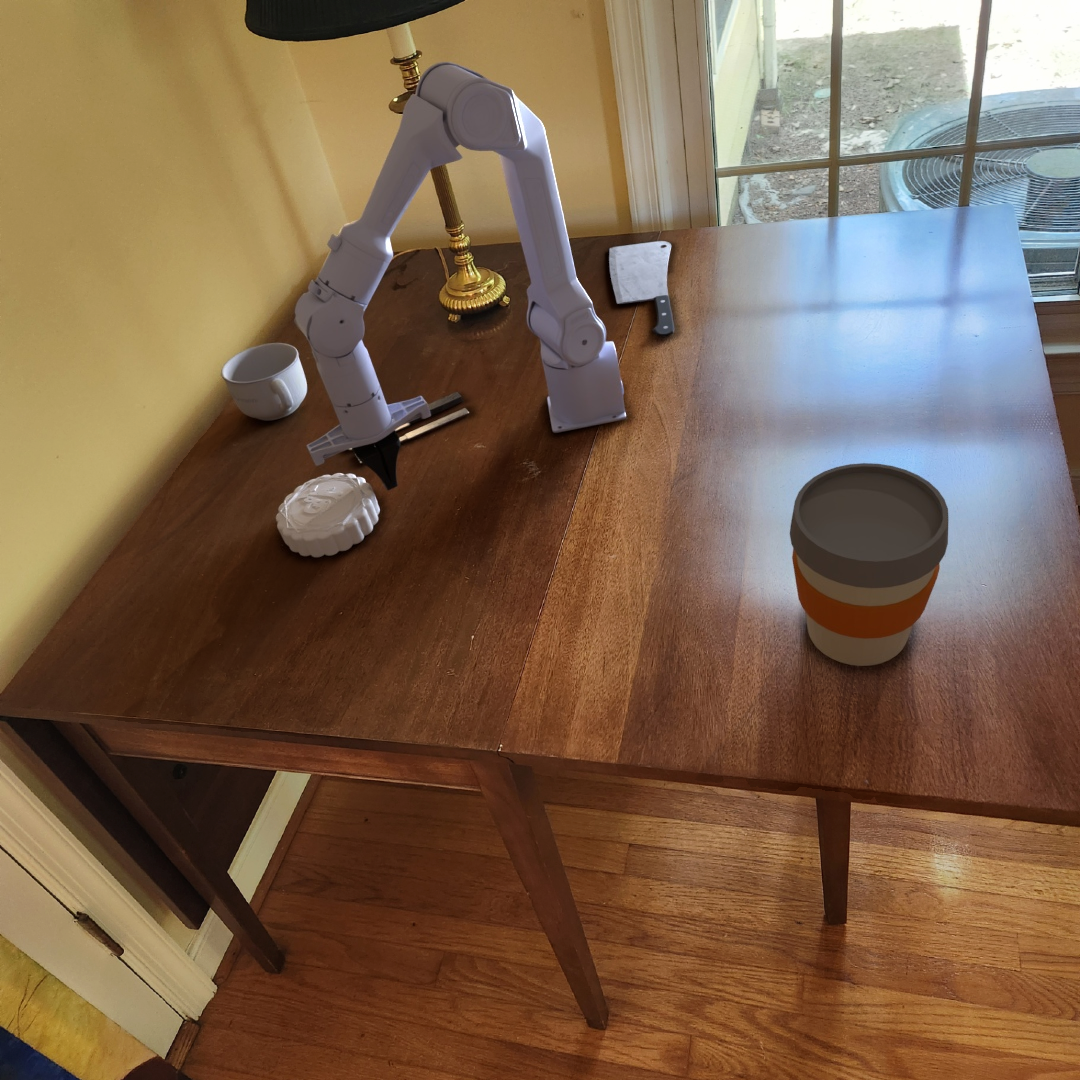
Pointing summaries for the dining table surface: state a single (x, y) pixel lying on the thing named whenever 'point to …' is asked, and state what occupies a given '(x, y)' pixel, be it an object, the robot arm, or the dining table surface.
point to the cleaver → (643, 279)
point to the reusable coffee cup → (866, 558)
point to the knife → (436, 408)
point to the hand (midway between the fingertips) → (390, 484)
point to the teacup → (266, 380)
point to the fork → (432, 426)
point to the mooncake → (328, 515)
